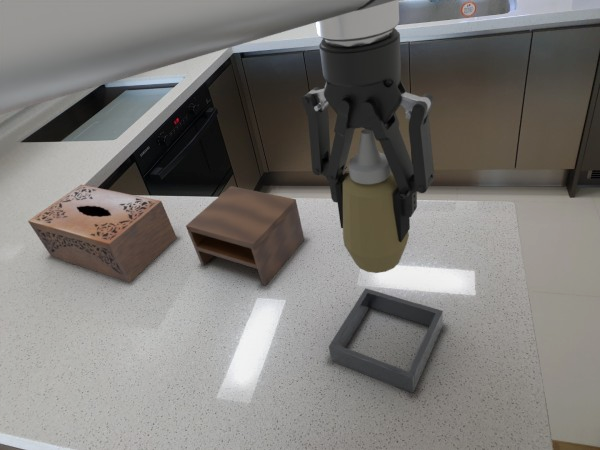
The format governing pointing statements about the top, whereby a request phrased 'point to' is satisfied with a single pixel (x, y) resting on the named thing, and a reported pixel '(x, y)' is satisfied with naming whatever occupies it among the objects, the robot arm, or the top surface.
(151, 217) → the tissue box cover
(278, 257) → the wooden shelf
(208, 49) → the robot arm
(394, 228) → the squeeze bottle
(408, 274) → the top surface
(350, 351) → the holder
